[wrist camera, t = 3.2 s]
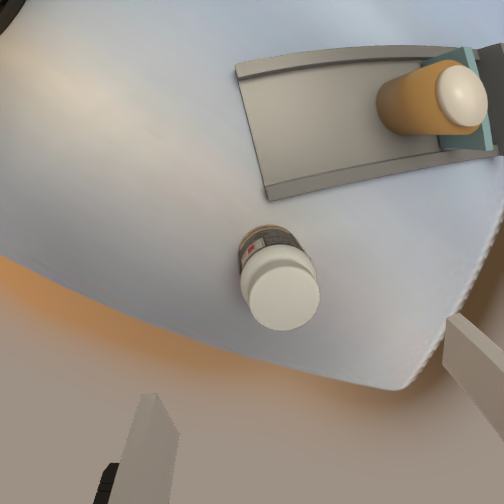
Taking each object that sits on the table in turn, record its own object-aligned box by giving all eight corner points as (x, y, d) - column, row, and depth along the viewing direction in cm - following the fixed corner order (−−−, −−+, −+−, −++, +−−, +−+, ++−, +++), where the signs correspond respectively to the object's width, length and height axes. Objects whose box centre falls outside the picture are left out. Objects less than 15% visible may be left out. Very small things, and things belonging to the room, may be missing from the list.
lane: (267, 198, 28) (275, 209, 23) (235, 70, 25) (234, 49, 19) (494, 153, 28) (530, 157, 22) (473, 53, 24) (507, 44, 18)
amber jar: (383, 139, 27) (445, 138, 17) (369, 81, 25) (426, 55, 15) (430, 132, 26) (498, 132, 17) (418, 78, 25) (482, 59, 15)
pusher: (440, 147, 27) (485, 150, 20) (421, 62, 24) (463, 46, 17) (469, 143, 26) (514, 147, 20) (452, 62, 24) (494, 50, 17)
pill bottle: (225, 258, 30) (221, 307, 20) (265, 210, 29) (280, 239, 19) (272, 293, 31) (287, 351, 22) (311, 248, 30) (344, 292, 21)
